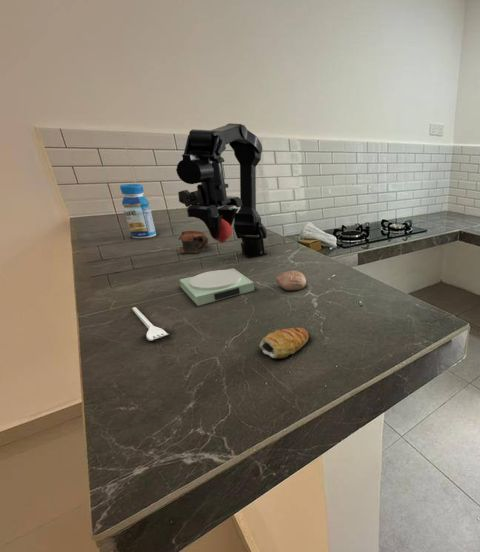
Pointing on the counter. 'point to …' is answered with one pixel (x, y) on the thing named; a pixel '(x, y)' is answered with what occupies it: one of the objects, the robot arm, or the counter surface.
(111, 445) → the counter surface
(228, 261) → the counter surface
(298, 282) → the pink oval lump
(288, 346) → the pastry
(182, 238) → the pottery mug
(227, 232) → the onion
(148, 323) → the fork
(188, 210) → the robot arm
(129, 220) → the beverage bottle
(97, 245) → the counter surface
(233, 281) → the scale
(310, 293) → the counter surface
